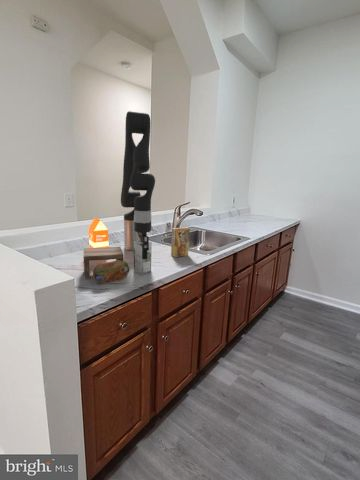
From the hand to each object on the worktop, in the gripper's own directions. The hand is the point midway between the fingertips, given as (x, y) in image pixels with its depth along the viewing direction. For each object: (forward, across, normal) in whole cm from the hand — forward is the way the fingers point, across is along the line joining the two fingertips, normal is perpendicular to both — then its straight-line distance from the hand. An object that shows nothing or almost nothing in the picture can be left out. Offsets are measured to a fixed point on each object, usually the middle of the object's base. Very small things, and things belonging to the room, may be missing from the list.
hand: (142, 256), depth 124 cm
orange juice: (+7, -28, -18) cm, 34 cm away
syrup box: (+8, 0, 0) cm, 8 cm away
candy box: (+7, -19, +24) cm, 32 cm away
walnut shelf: (+7, -2, -17) cm, 19 cm away
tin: (+8, +7, -15) cm, 18 cm away
